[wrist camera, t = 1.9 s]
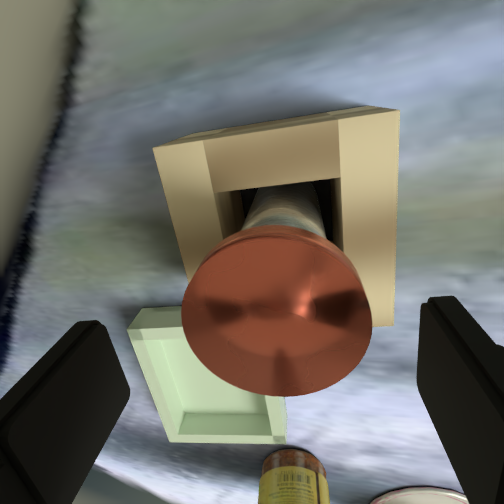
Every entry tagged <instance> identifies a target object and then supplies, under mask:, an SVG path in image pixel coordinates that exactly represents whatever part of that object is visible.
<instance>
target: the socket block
mask: <svg viewBox="0 0 504 504" xmlns="http://www.w3.org/2000/svg"><path fill="white" fill-rule="evenodd" d="M399 123H400V110H396V109H389V108H382V107H375V106H363V107H357V108H350V109H344V110H338V111H331V112H325V113H319V114H312V115H306V116H300V117H293V118H287V119H281V120H274V121H268V122H262V123H255V124H249V125H243V126H236V127H230V128H224V129H217V130H211V131H205V132H198V133H192V134H190V135H187V136H184V137H181V138H179V139H176V140H173V141H170V142H168V143H165V144H162V145H159V146H157V147H154V148H153V152H154V156H155V159H156V163H157V167H158V171H159V174H160V178H161V182H162V185H163V189H164V193H165V197H166V200H167V204H168V208H169V212H170V215H171V219H172V223H173V226H174V230H175V234H176V238H177V241H178V245H179V249H180V253H181V256H182V260H183V264H184V267H185V271H186V275H187V279H188V282H189V283H190V281H191V279H192V277H193V276H194V274H195V272H196V270H197V269H198V267H199V265H200V264H201V262H202V261H203V259H204V257H205V256H206V255H207V254H208V253H209V251H210V250H211V249H212V248H213V247H214V246H216V245H217V244H218V243H219V242H220V241H222V240H224V239H225V238H227V237H228V236H230V235H232V234H235V233H237V232H239V231H241V229H242V227H243V224H244V222H245V216H244V210H243V204H242V199H241V193H240V190H241V189H249V188H258V187H266V186H274V185H282V184H290V183H298V182H306V181H315V180H323V179H330V190H331V208H332V225H333V241H330V242H331V243H333V244H334V245H335V246H337V247H338V248H339V249H340V250H341V251H342V252H343V253H344V254H345V255H346V256H347V257H348V258H349V260H350V261H351V262H352V264H353V265H354V267H355V268H356V270H357V272H358V274H359V277H360V279H361V281H362V284H363V287H364V290H365V293H366V296H367V299H368V302H369V305H370V309H371V313H372V327H380V326H394V296H395V262H396V227H397V192H398V157H399Z"/></svg>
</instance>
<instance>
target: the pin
mask: <svg viewBox="0 0 504 504" xmlns="http://www.w3.org/2000/svg"><path fill="white" fill-rule="evenodd" d="M181 320H182V326H183V331H184V334H185V337H186V340H187V342H188V344H189V346H190V348H191V350H192V351H193V353H194V354H195V355H196V357H197V358H198V359H199V360H200V362H201V363H202V364H203V365H204V366H205V367H206V368H207V369H208V370H210V371H211V372H212V373H213V374H215V375H216V376H217V377H219V378H220V379H222V380H224V381H225V382H227V383H229V384H231V385H233V386H235V387H237V388H240V389H242V390H246V391H249V392H252V393H256V394H261V395H267V396H278V397H288V396H299V395H306V394H310V393H313V392H317V391H320V390H322V389H325V388H327V387H329V386H331V385H333V384H335V383H337V382H338V381H340V380H341V379H343V378H344V377H346V376H347V375H348V374H349V373H350V372H351V371H352V370H353V369H354V368H355V367H356V366H357V365H358V364H359V362H360V361H361V359H362V358H363V356H364V355H365V353H366V350H367V348H368V346H369V343H370V339H371V335H372V313H371V309H370V305H369V302H368V299H367V296H366V293H365V290H364V287H363V284H362V281H361V279H360V277H359V274H358V272H357V270H356V268H355V267H354V265H353V264H352V262H351V261H350V260H349V258H348V257H347V256H346V255H345V254H344V253H343V252H342V251H341V250H340V249H339V248H338V247H337V246H335V245H334V244H333V243H331V242H330V241H328V240H327V239H326V235H325V230H324V225H323V220H322V215H321V210H320V205H319V200H318V195H317V192H316V190H315V188H314V187H313V185H312V184H311V183H310V182H309V181H306V182H298V183H290V184H282V185H274V186H266V187H259V189H258V191H257V193H256V196H255V198H254V200H253V203H252V205H251V208H250V210H249V212H248V215H247V217H246V219H245V222H244V224H243V227H242V229H241V231H239V232H237V233H235V234H232V235H230V236H228V237H227V238H225V239H224V240H222V241H220V242H219V243H218V244H217V245H216V246H214V247H213V248H212V249H211V250H210V251H209V253H208V254H207V255H206V256H205V257H204V259H203V261H202V262H201V264H200V265H199V267H198V269H197V270H196V272H195V274H194V276H193V277H192V279H191V281H190V283H189V284H188V287H187V289H186V291H185V294H184V297H183V301H182V308H181Z"/></svg>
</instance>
